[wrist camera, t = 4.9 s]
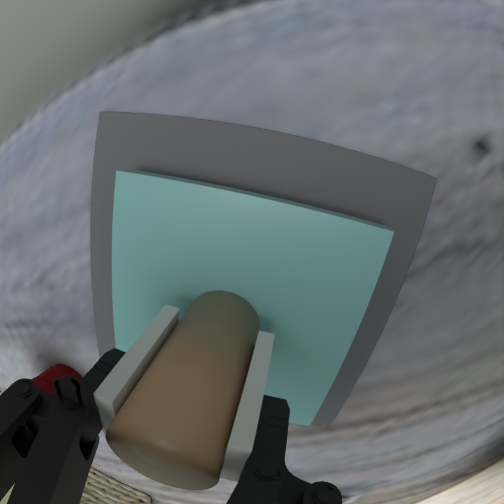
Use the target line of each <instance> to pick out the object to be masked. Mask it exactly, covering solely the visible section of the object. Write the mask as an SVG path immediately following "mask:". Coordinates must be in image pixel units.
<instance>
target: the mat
mask: <svg viewBox="0 0 504 504" xmlns="http://www.w3.org/2000/svg"><path fill="white" fill-rule="evenodd" d="M121 169H132V170H138V171H145V172H151V173H157V174H163V175H168V176H174V177H180V178H185V179H190V180H196V181H201V182H206V183H211V184H216V185H221V186H226V187H231V188H236V189H241V190H245V191H250V192H255V193H259V194H264V195H268V196H272V197H277V198H281V199H285V200H290V201H294V202H298V203H302V204H306V205H310V206H314V207H318V208H322V209H326V210H330V211H334V212H338V213H342V214H345V215H349V216H353V217H357V218H360V219H364V220H368V221H371V222H375V223H378V224H382V225H385V226H389V227H390V228H391V229H392V230H393V231H394V234H393V237H392V240H391V243H390V246H389V249H388V252H387V255H386V258H385V261H384V264H383V267H382V269H381V272H380V275H379V278H378V280H377V283H376V286H375V288H374V291H373V294H372V296H371V299H370V301H369V304H368V306H367V309H366V311H365V314H364V316H363V318H362V321H361V323H360V326H359V328H358V330H357V333H356V335H355V337H354V339H353V342H352V344H351V346H350V348H349V350H348V353H347V355H346V357H345V359H344V361H343V363H342V365H341V367H340V369H339V372H338V374H337V376H336V378H335V380H334V382H333V384H332V386H331V388H330V389H329V391H328V393H327V395H326V397H325V399H324V401H323V403H322V405H321V407H320V408H319V410H318V412H317V414H316V416H315V417H314V419H313V421H312V423H311V425H318V426H326V427H330V425H331V424H332V422H333V421H334V419H335V418H336V416H337V414H338V413H339V411H340V409H341V408H342V406H343V404H344V403H345V401H346V399H347V398H348V396H349V394H350V392H351V391H352V389H353V387H354V385H355V384H356V382H357V380H358V378H359V376H360V374H361V373H362V371H363V369H364V367H365V365H366V363H367V361H368V359H369V357H370V355H371V353H372V351H373V349H374V347H375V345H376V343H377V341H378V339H379V337H380V335H381V333H382V331H383V329H384V326H385V324H386V322H387V320H388V318H389V315H390V313H391V311H392V309H393V306H394V304H395V302H396V299H397V297H398V294H399V292H400V290H401V287H402V285H403V282H404V280H405V277H406V274H407V272H408V269H409V267H410V264H411V261H412V258H413V256H414V253H415V250H416V247H417V244H418V241H419V238H420V235H421V232H422V229H423V226H424V223H425V220H426V216H427V213H428V210H429V206H430V203H431V199H432V195H433V192H434V188H435V184H436V180H437V178H434V177H432V176H429V175H426V174H424V173H421V172H418V171H415V170H413V169H410V168H407V167H404V166H401V165H398V164H395V163H392V162H389V161H386V160H383V159H380V158H376V157H373V156H370V155H367V154H363V153H360V152H356V151H353V150H349V149H346V148H342V147H338V146H335V145H331V144H327V143H323V142H319V141H315V140H311V139H306V138H302V137H298V136H293V135H289V134H284V133H279V132H274V131H269V130H264V129H259V128H253V127H248V126H242V125H236V124H230V123H223V122H216V121H209V120H201V119H193V118H185V117H175V116H165V115H153V114H139V113H121V112H100V115H99V122H98V129H97V136H96V145H95V154H94V165H93V177H92V194H91V226H90V243H91V276H92V292H93V305H94V316H95V325H96V334H97V342H98V349H99V356H100V358H101V357H102V356H103V355H104V353H106V352H108V351H109V350H111V349H113V348H116V345H115V333H114V319H113V299H112V225H113V206H114V191H115V179H116V170H121Z"/></svg>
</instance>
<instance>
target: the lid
mask: <svg viewBox="0 0 504 504" xmlns="http://www.w3.org/2000/svg"><path fill="white" fill-rule="evenodd" d="M393 234H394V231H393V230H392V229H391V228H390V227H389V226H385V225H382V224H378V223H375V222H371V221H368V220H364V219H360V218H357V217H353V216H349V215H345V214H342V213H338V212H334V211H330V210H326V209H322V208H318V207H314V206H310V205H306V204H302V203H298V202H294V201H290V200H285V199H281V198H277V197H272V196H268V195H264V194H259V193H255V192H250V191H245V190H241V189H236V188H231V187H226V186H221V185H216V184H211V183H206V182H201V181H196V180H190V179H185V178H180V177H174V176H168V175H163V174H157V173H151V172H145V171H138V170H132V169H121V170H116V179H115V191H114V206H113V225H112V299H113V319H114V333H115V345H116V349H119V350H121V351H124V352H127V351H128V349H129V348H130V347H131V346H132V345H133V343H134V342H135V341H136V340H137V338H138V337H139V336H140V335H141V334H142V332H143V331H144V330H145V329H146V327H147V326H148V325H149V324H150V323H151V321H152V320H153V319H154V318H155V317H156V315H157V314H158V313H159V312H160V310H161V309H162V308H163V307H164V306H165V304H166V305H169V306H173V307H176V308H179V309H180V312H179V323H178V324H177V326H176V327H175V329H174V330H173V331H172V333H171V334H170V336H169V337H168V339H167V340H166V342H165V343H164V345H163V346H162V348H161V349H160V350H159V352H158V353H157V355H156V356H155V358H154V359H153V361H152V362H151V364H150V365H149V367H148V368H147V370H146V371H145V373H144V374H143V376H142V377H141V379H140V380H139V381H138V383H137V384H136V386H135V387H134V389H133V390H132V392H131V393H130V395H129V396H128V398H127V399H126V401H125V402H124V404H123V405H122V407H121V408H120V410H119V412H118V413H117V415H116V416H115V418H114V419H113V421H112V422H111V424H110V425H109V427H108V428H107V430H106V433H105V436H106V440H107V443H108V444H109V446H110V448H111V449H112V450H113V452H114V453H115V454H116V455H117V456H118V457H119V458H120V459H121V460H122V461H123V462H125V463H126V464H127V465H129V466H130V467H131V468H133V469H134V470H136V471H137V472H139V473H141V474H143V475H144V476H146V477H148V478H150V479H153V480H155V481H157V482H160V483H163V484H165V485H169V486H172V487H176V488H181V489H187V490H204V489H209V488H212V487H213V486H215V485H216V484H217V483H218V481H219V478H220V475H221V471H222V468H223V464H224V456H225V453H226V449H227V446H228V442H229V439H230V436H231V432H232V429H233V425H234V422H235V418H236V414H237V411H238V407H239V404H240V400H241V397H242V393H243V389H244V386H245V382H246V378H247V375H248V371H249V367H250V364H251V360H252V356H253V352H254V349H255V345H256V341H257V337H258V333H259V330H260V331H264V332H268V333H272V334H275V337H274V342H273V348H272V353H271V359H270V364H269V370H268V375H267V380H266V385H265V390H264V395H268V396H273V397H277V398H282V399H286V400H287V403H288V405H289V408H290V416H289V423H293V424H298V425H304V426H310V425H311V423H312V421H313V419H314V417H315V416H316V414H317V412H318V410H319V408H320V407H321V405H322V403H323V401H324V399H325V397H326V395H327V393H328V391H329V389H330V388H331V386H332V384H333V382H334V380H335V378H336V376H337V374H338V372H339V369H340V367H341V365H342V363H343V361H344V359H345V357H346V355H347V353H348V350H349V348H350V346H351V344H352V342H353V339H354V337H355V335H356V333H357V330H358V328H359V326H360V323H361V321H362V318H363V316H364V314H365V311H366V309H367V306H368V304H369V301H370V299H371V296H372V294H373V291H374V288H375V286H376V283H377V280H378V278H379V275H380V272H381V269H382V267H383V264H384V261H385V258H386V255H387V252H388V249H389V246H390V243H391V240H392V237H393Z"/></svg>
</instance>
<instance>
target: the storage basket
mask: <svg viewBox="0 0 504 504" xmlns="http://www.w3.org/2000/svg"><path fill="white" fill-rule="evenodd" d="M80 504H151V498H150V497H149V496H148V495H147V494H145V493H143V492H140V491H138V490H135V489H133V488H131V487H129V486H127V485H125V484H122V483H120V482H119V481H117V480H115V479H113V478H111V477H109V476H107V475H105V474H103V473H101V472H99V471H97V470H95V469H94V468H92V467H91V468H90V471H89V474H88V477H87V481H86V484H85V487H84V490H83V494H82V497H81V501H80Z"/></svg>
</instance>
